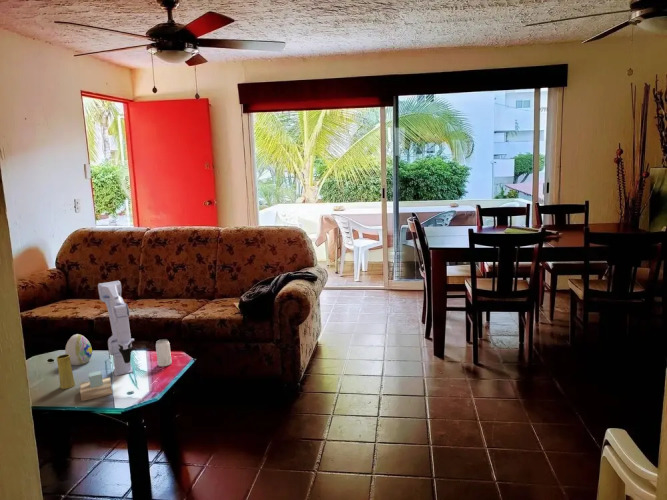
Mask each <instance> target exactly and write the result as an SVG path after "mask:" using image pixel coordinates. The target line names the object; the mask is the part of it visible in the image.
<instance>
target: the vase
mask: <svg viewBox="0 0 667 500" xmlns="http://www.w3.org/2000/svg"><path fill="white" fill-rule="evenodd" d="M56 362H57V363H56V364H57V369H58V370H57V371H58V379H59V388H60V389H61V390H62V389H63V390H65V389H70V388H72V387H75V385H76V382H75V379H74V373H73V368H72V364H71V361H70V355H69V354H60V355H57V356H56Z"/></svg>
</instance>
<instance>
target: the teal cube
mask: <svg viewBox="0 0 667 500" xmlns="http://www.w3.org/2000/svg"><path fill="white" fill-rule="evenodd" d="M102 375H103V374H102V370H98V371H93V372H92V371H91V372H88V381H89V382H90V387H91V388H92V387H97V386H101V385H103V380H102V379H103V376H102Z"/></svg>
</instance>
